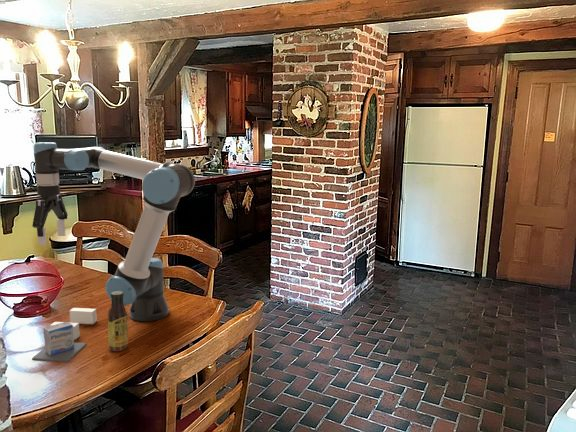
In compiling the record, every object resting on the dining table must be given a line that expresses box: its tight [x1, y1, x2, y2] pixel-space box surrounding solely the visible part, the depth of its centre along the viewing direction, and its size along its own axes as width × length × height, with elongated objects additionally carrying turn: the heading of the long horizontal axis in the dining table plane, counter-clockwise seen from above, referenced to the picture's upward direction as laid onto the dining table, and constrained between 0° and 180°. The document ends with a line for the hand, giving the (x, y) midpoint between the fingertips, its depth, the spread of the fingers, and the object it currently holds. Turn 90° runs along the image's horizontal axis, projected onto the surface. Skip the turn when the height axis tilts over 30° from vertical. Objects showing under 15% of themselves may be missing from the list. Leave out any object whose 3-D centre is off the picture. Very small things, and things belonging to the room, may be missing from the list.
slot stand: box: [49, 307, 98, 341], centre depth 174 cm, size 9×16×5 cm, turn 176°
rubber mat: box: [31, 341, 87, 363], centre depth 158 cm, size 12×12×1 cm
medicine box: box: [43, 321, 75, 356], centre depth 157 cm, size 8×4×9 cm, turn 137°
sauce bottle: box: [107, 291, 129, 352], centre depth 159 cm, size 6×6×20 cm
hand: (52, 240), depth 178 cm, fingers open, 13 cm apart
